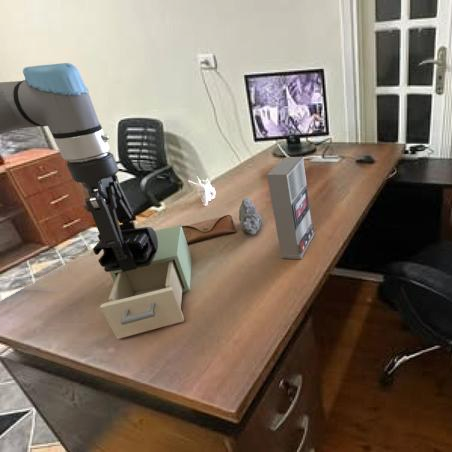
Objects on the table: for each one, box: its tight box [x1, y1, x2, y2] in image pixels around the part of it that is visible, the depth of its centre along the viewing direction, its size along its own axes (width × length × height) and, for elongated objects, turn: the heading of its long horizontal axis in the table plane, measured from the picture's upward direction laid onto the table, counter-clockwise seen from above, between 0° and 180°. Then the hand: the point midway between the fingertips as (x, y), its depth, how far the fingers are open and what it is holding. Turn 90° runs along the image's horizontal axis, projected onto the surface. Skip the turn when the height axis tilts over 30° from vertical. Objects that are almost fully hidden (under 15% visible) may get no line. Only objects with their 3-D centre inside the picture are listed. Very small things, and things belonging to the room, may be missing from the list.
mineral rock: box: [238, 197, 262, 236], centre depth 113 cm, size 13×11×10 cm
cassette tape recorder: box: [266, 156, 316, 260], centre depth 97 cm, size 14×6×25 cm, turn 167°
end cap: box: [92, 226, 158, 273], centre depth 74 cm, size 10×7×7 cm
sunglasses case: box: [181, 214, 237, 245], centre depth 113 cm, size 18×7×7 cm, turn 115°
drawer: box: [99, 260, 185, 340], centre depth 79 cm, size 20×14×9 cm
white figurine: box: [187, 175, 217, 207], centre depth 137 cm, size 12×8×10 cm, turn 169°
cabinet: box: [109, 224, 193, 294], centre depth 91 cm, size 17×15×11 cm
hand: (133, 258), depth 75 cm, fingers closed on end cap, 8 cm apart
